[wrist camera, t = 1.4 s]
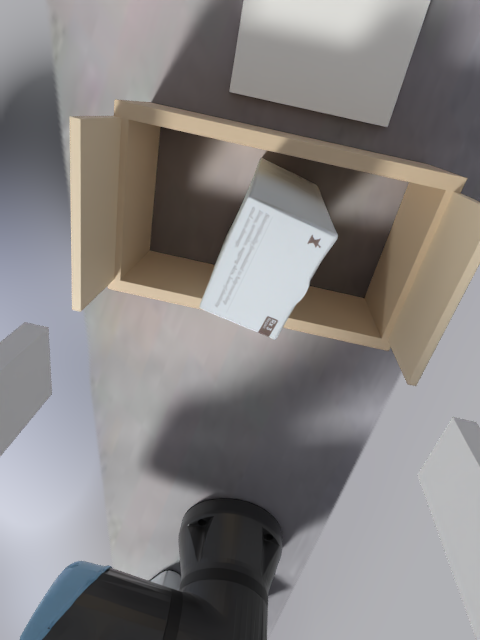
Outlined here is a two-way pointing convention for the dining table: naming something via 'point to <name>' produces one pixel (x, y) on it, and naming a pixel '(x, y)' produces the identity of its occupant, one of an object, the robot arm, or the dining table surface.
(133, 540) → the dining table surface
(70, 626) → the robot arm
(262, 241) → the skincare box
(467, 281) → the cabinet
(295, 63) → the pad
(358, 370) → the dining table surface
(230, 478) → the dining table surface
